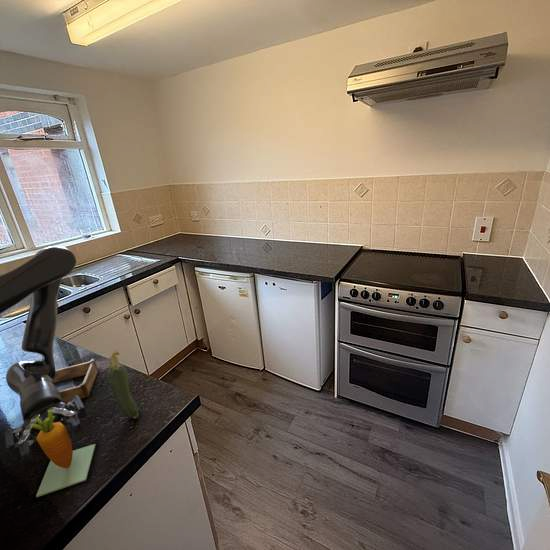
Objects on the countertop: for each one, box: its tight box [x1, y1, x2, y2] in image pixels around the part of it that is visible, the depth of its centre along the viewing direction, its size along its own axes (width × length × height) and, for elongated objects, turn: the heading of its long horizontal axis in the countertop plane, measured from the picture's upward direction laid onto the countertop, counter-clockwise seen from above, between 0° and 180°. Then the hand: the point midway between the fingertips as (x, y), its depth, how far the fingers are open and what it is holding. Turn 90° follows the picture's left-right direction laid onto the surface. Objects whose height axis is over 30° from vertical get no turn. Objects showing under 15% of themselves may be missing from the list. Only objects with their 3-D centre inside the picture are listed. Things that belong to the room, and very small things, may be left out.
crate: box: [53, 358, 99, 404], centre depth 89 cm, size 14×13×4 cm
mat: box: [35, 443, 96, 498], centre depth 65 cm, size 9×9×1 cm
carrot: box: [30, 410, 74, 468], centre depth 62 cm, size 5×5×15 cm
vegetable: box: [106, 350, 139, 420], centre depth 74 cm, size 4×4×20 cm
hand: (54, 443), depth 60 cm, fingers open, 7 cm apart
